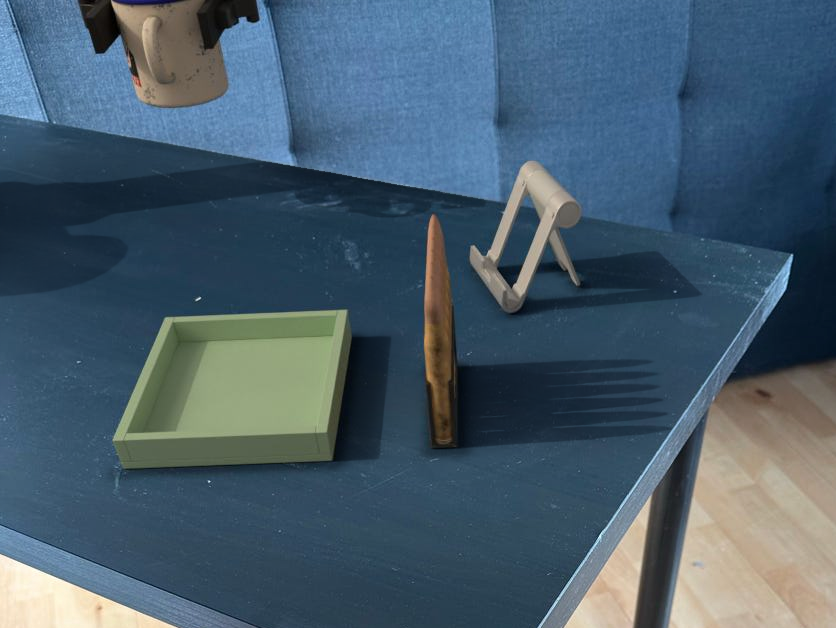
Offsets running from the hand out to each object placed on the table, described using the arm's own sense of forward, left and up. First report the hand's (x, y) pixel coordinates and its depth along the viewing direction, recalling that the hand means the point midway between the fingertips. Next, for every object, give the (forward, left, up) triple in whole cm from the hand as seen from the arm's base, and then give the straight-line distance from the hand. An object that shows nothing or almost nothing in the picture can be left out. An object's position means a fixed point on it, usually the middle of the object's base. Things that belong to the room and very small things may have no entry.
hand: (149, 33), depth 80 cm
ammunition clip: (+25, -34, -16) cm, 45 cm away
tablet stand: (+32, -16, -16) cm, 39 cm away
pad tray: (+10, -32, -16) cm, 37 cm away
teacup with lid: (0, +5, -7) cm, 8 cm away
